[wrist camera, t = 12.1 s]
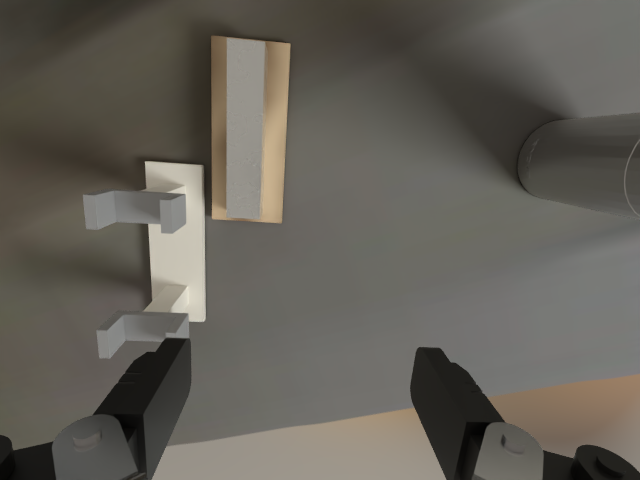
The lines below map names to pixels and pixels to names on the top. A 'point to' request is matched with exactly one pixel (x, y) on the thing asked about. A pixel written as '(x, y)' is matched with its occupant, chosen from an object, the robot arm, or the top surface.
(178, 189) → the rail stand
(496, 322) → the top surface
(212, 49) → the mat
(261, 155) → the rail
